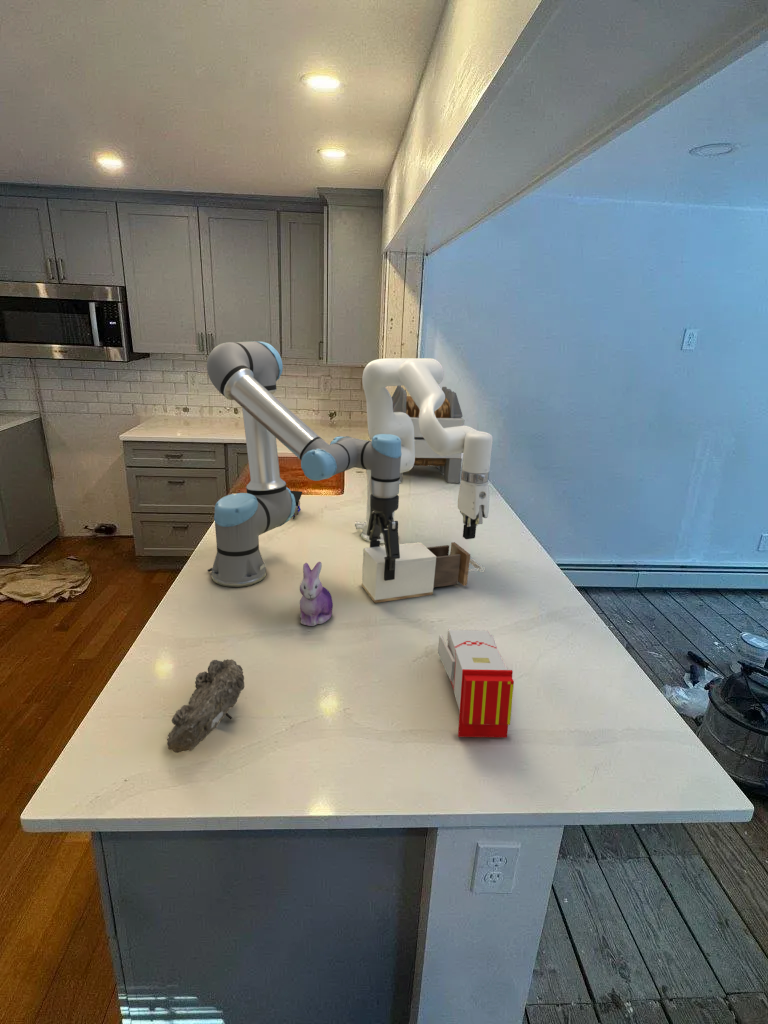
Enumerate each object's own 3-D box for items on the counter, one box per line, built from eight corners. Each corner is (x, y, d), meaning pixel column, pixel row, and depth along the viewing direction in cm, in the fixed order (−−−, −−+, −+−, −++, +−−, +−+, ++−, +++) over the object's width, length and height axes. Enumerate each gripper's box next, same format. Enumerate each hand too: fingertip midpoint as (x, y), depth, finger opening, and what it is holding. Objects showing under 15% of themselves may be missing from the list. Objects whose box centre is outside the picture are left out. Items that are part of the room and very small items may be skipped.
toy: (488, 613, 130) (523, 677, 101) (484, 667, 133) (517, 744, 104) (435, 612, 130) (455, 676, 101) (432, 666, 133) (451, 743, 103)
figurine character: (298, 524, 207) (303, 507, 221) (298, 506, 204) (302, 489, 217) (280, 524, 207) (285, 506, 220) (279, 505, 204) (285, 488, 217)
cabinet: (417, 578, 168) (420, 541, 164) (432, 594, 158) (436, 556, 155) (361, 585, 161) (363, 547, 157) (374, 603, 152) (377, 563, 148)
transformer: (382, 463, 289) (386, 382, 275) (445, 464, 293) (451, 384, 279) (390, 482, 257) (394, 392, 243) (460, 483, 261) (468, 394, 247)
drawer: (467, 569, 173) (471, 540, 170) (483, 583, 165) (487, 552, 162) (402, 578, 165) (404, 547, 162) (415, 592, 157) (418, 560, 154)
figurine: (305, 631, 137) (304, 575, 132) (291, 611, 146) (290, 558, 141) (340, 623, 142) (342, 569, 137) (325, 604, 150) (326, 552, 145)
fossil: (192, 660, 117) (244, 628, 112) (224, 691, 120) (276, 661, 115) (142, 746, 98) (202, 712, 93) (182, 779, 101) (242, 748, 96)
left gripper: (416, 507, 140) (411, 587, 147) (381, 480, 159) (378, 552, 167) (388, 509, 137) (384, 591, 144) (356, 482, 157) (354, 555, 164)
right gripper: (501, 483, 152) (493, 546, 158) (473, 468, 165) (467, 527, 171) (477, 485, 149) (470, 549, 155) (450, 470, 162) (445, 529, 168)
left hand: (381, 570), depth 156 cm, fingers closed on cabinet, 10 cm apart
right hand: (468, 537), depth 163 cm, fingers closed
